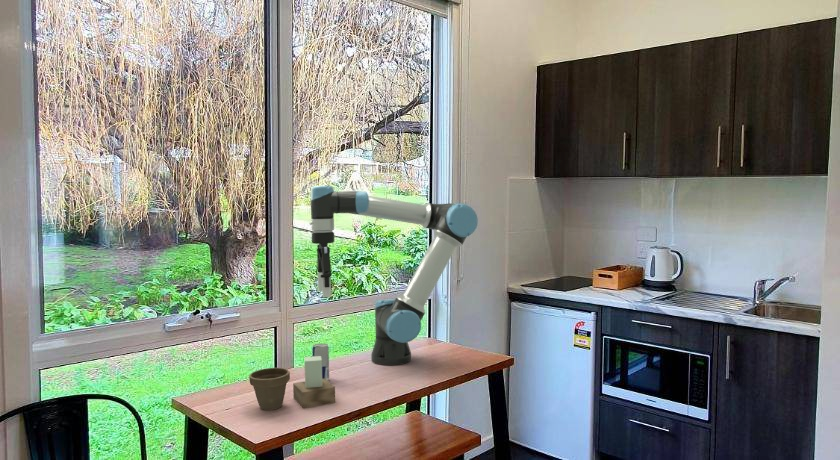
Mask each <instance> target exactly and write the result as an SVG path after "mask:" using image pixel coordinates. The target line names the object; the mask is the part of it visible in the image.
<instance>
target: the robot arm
mask: <svg viewBox="0 0 840 460" xmlns="http://www.w3.org/2000/svg"><path fill="white" fill-rule="evenodd" d="M335 214H351V215H358V216H364V217H371V218H377V219H384V220H389V221H396V222H401V223H407V224H408V223H409V224H414V225H421V227H422V228H423V229H427V230H428V229H429V230H433V233H434V237H433V239H432V241H431V243H430V245H429V247H428V249H427V250H426V252H425V254H424V255H423V258H422V259H421V261H420V263H419V265H418V266H417V268H416V270H415V272H414V273H413V276H412V277H411V279H410V281H409V283H408V285H407V286H406V288H405V290H404V291H403V293H402V295H401V294H400V295H398V296H396V297H395V298H390V299H388V298H387V299H379V300H376V301H375V304H374V305H375V307H374V317H375V319H374V321H375V322H374V323H375V324H374V325H375V326H374V327H375V341H374V345H373V347H372V350H371V355H370V356H371V357H370V358H371V362H372V363H374V364H377V365H381V366H396V365H403V364H406V363H407V364H408V363H410V362H412V351H411V348H410V346H409V342H412V341H413V340H415V339H416V338H417V337H418V336H419V334H420V332H421V329H422V320H423V317H424V315H425V314H426V311H425V305H426V303H427V302H428V300H429V298H430V296H431V294H432V292H433V290H434V289H435V287H436V285H437V283H438V281H439V279H440V277H441V276H442V274H443V272H444V271H445V268H446V266H447V265H448V263H449V261H450V259H451V257H452V256H453V254H454V252H455V250H456V249H457V248H459V247H463V245H464V242H465V241H466V239H467V238H468V237H469V236H471V235H472V234H474V233H475V232H476V229H477V228H478V223H479V218H478V216H477V213H476V210H474V208H473V207H472V206H470V205H468V204H466V203H462V202H458V203H457V202H455V203H449V202H448V203H430V202H427V203H425V204H420V203H414V202H408V201H402V200H397V199H392V198H391V199H390V198H385V197H378V196H372V195H369V194H368V192H367V191H363V190H349V191H348V190H346V191H334V187H333V186H332V185H313V186H312V187H311V188H310V215H311V218H310V219H311V221H310V222H309V225H310V226H311V231H312V233H311V243H312V244H314V245H316V255H317V256H316V257H317V259H316V262H317V263H316V269H317V287H318V288H317V291H318V292H322V298H331V297H332V281H331V280H332V279H331V278H332V277H331V276H332V275H333V274H332V267H331V256H330V255H331V254H330V253H331V250H330V249H331V248H330V246H328V244H333V243H335V232H334V230H335V218H334V217H335Z"/></svg>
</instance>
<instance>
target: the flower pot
mask: <svg viewBox="0 0 840 460" xmlns="http://www.w3.org/2000/svg"><path fill="white" fill-rule="evenodd" d="M290 375H291V374H290V370H289V369H287V368H284V367H268V368H267V367H266V368H261V369H259V370H255V371H253V372H251V373H250V374H249V375H248V378H249V379H248V380H249V385H251V386H252V387H253V391H254V392H255V397H256V400H257V403H258V406H259V408H260V409H262V410H265V411H271V410H277V409H280V408H281V407H282V406H283V404H284V399H285V394H286V388H287V383H288V382H290V379H291V377H290Z"/></svg>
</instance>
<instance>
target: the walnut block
mask: <svg viewBox="0 0 840 460" xmlns="http://www.w3.org/2000/svg"><path fill="white" fill-rule="evenodd" d="M292 388H293V390H292V393H293V394H292V395H293V400H294V401H295V402H296V403H297V404H298V405H299V406H300V407H301V408H302V409H305V408H311V407H318V406H322V405H328V404H333V403H336V386H335V385H333V384H332V383H331V382H330V381H329V380H328V381H327V380H326V379H325V378H324V379H322V387H312V388H305V380H304V381H299V382H293V384H292Z"/></svg>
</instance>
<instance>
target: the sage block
mask: <svg viewBox="0 0 840 460" xmlns="http://www.w3.org/2000/svg"><path fill="white" fill-rule="evenodd" d="M303 359H304V381H305V388H312V387H322V359H321V356H314V357H313V356H304V358H303Z"/></svg>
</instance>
